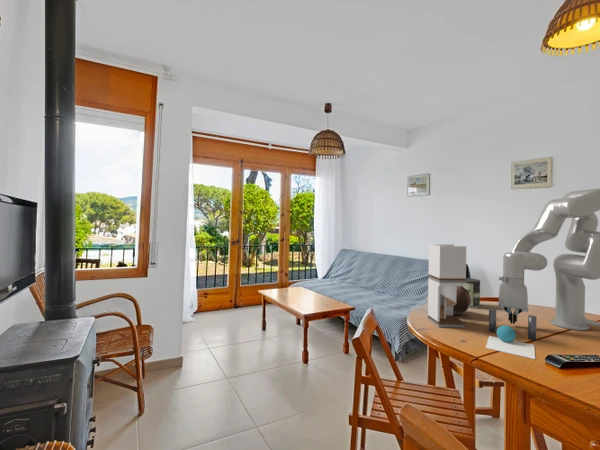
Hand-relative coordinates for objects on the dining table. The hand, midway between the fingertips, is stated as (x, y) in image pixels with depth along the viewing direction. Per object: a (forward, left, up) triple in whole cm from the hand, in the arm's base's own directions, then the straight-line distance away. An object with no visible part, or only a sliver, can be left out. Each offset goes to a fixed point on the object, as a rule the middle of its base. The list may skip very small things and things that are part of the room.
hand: (512, 322), depth 129 cm
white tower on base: (+24, +14, -2) cm, 28 cm away
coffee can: (+20, -25, -2) cm, 32 cm away
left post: (+6, +13, -2) cm, 15 cm away
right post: (-7, +13, -2) cm, 15 cm away
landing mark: (0, +27, -2) cm, 27 cm away
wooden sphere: (+24, -3, -2) cm, 24 cm away
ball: (+1, +22, +2) cm, 22 cm away
